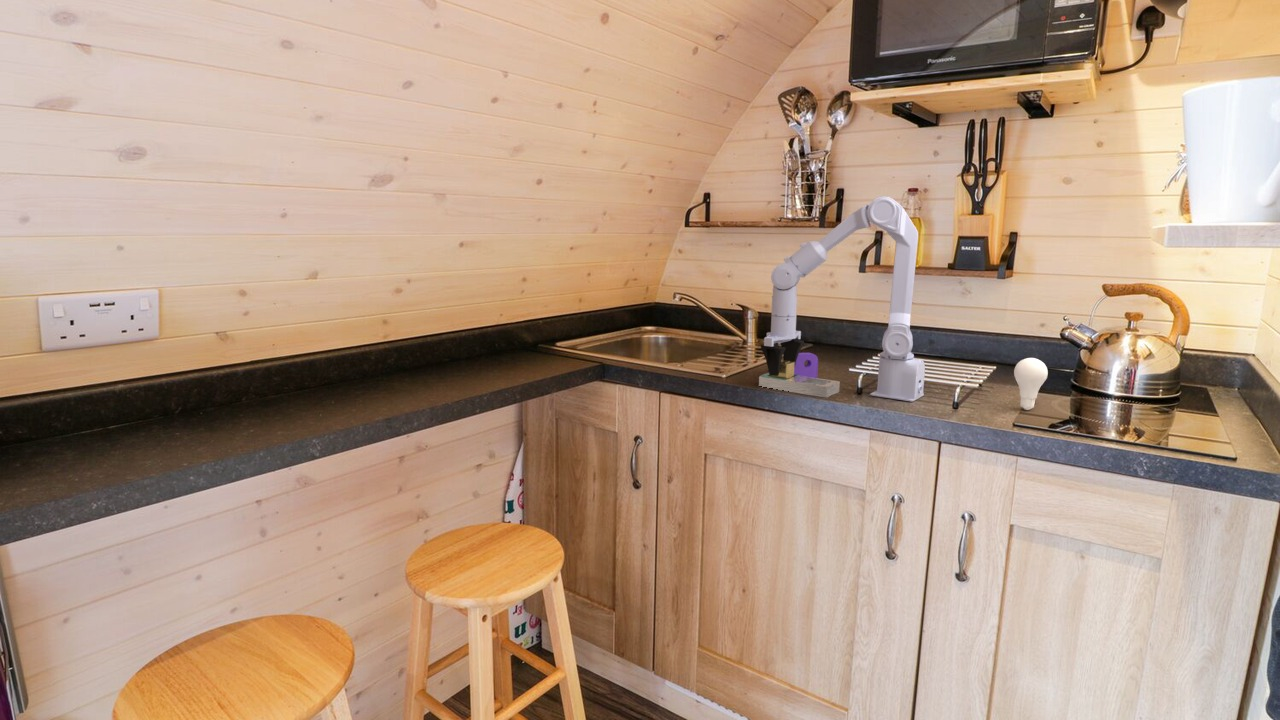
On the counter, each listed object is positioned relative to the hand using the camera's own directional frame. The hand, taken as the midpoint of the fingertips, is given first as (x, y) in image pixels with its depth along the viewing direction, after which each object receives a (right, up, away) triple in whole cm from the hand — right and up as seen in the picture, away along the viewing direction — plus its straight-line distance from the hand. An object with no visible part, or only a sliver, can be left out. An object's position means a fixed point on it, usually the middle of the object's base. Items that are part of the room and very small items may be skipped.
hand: (781, 372), depth 168 cm
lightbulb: (+47, -8, -20) cm, 52 cm away
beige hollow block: (0, -3, 0) cm, 4 cm away
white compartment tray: (+4, -4, -2) cm, 6 cm away
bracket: (+6, -1, +14) cm, 15 cm away
